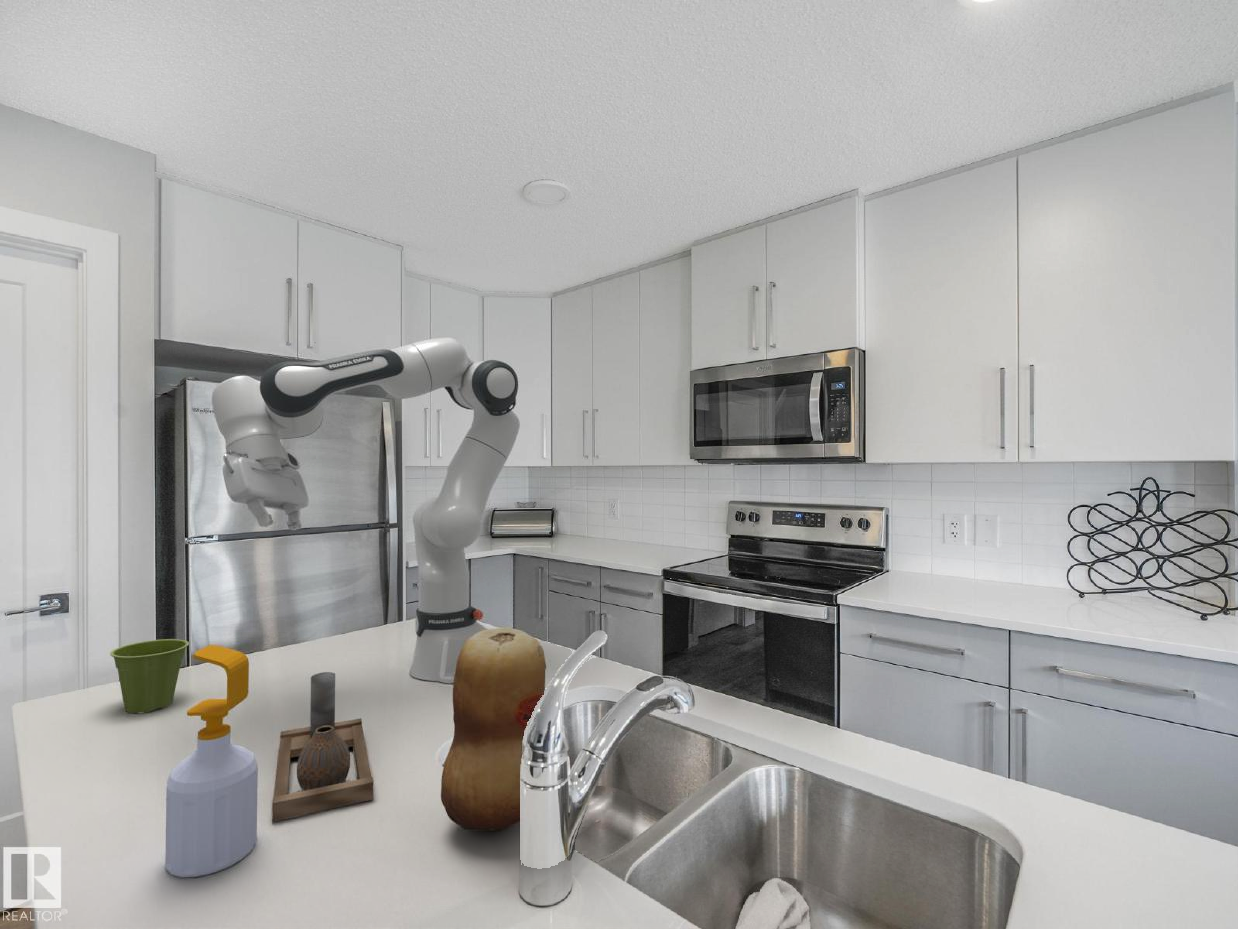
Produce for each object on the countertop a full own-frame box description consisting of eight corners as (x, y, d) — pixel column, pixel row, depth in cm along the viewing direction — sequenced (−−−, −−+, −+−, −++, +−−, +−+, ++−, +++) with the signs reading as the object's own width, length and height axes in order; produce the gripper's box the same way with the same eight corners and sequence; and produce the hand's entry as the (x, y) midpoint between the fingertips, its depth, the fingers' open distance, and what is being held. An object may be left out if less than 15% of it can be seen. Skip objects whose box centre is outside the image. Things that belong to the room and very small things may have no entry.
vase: (359, 779, 89) (360, 720, 89) (332, 805, 82) (333, 741, 82) (315, 776, 90) (316, 717, 90) (285, 801, 83) (286, 738, 83)
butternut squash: (497, 871, 69) (500, 655, 69) (418, 833, 76) (421, 636, 76) (568, 813, 81) (570, 628, 81) (494, 784, 88) (496, 614, 88)
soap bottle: (195, 832, 76) (198, 638, 76) (270, 829, 77) (273, 637, 77) (145, 881, 67) (149, 661, 67) (231, 878, 68) (234, 660, 68)
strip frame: (361, 732, 104) (362, 664, 104) (373, 799, 83) (374, 714, 84) (280, 746, 99) (281, 674, 99) (272, 822, 78) (273, 731, 78)
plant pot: (190, 708, 114) (191, 649, 114) (108, 725, 106) (109, 661, 106) (185, 690, 123) (186, 634, 123) (109, 704, 115) (110, 645, 115)
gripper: (239, 440, 101) (265, 515, 99) (302, 461, 122) (325, 524, 119) (203, 455, 101) (228, 530, 99) (273, 474, 121) (295, 537, 119)
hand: (282, 527), depth 109 cm, fingers open, 8 cm apart
